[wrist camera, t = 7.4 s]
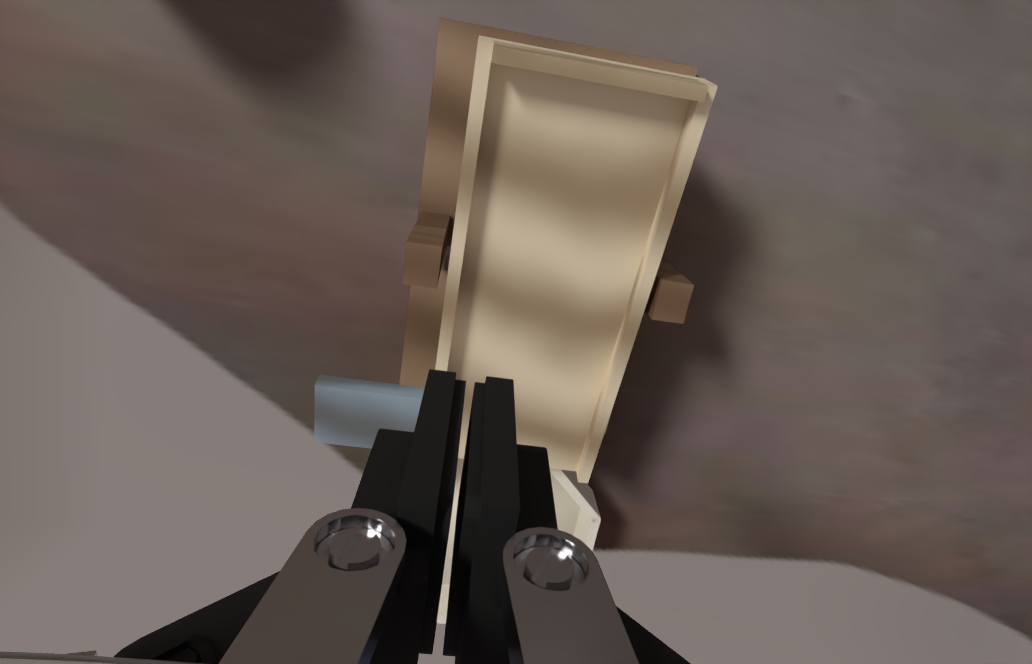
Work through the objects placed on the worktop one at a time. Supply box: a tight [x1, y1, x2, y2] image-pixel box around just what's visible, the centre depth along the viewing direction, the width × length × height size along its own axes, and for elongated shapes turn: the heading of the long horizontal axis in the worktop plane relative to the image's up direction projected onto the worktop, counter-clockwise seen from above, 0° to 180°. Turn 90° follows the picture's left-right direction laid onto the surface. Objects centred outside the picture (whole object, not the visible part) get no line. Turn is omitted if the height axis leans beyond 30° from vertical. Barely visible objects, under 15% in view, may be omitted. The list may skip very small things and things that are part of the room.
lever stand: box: [399, 18, 698, 434], centre depth 33 cm, size 23×14×9 cm, turn 170°
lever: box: [315, 35, 718, 483], centre depth 30 cm, size 22×16×6 cm
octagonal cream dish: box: [437, 458, 601, 624], centre depth 41 cm, size 14×14×4 cm
